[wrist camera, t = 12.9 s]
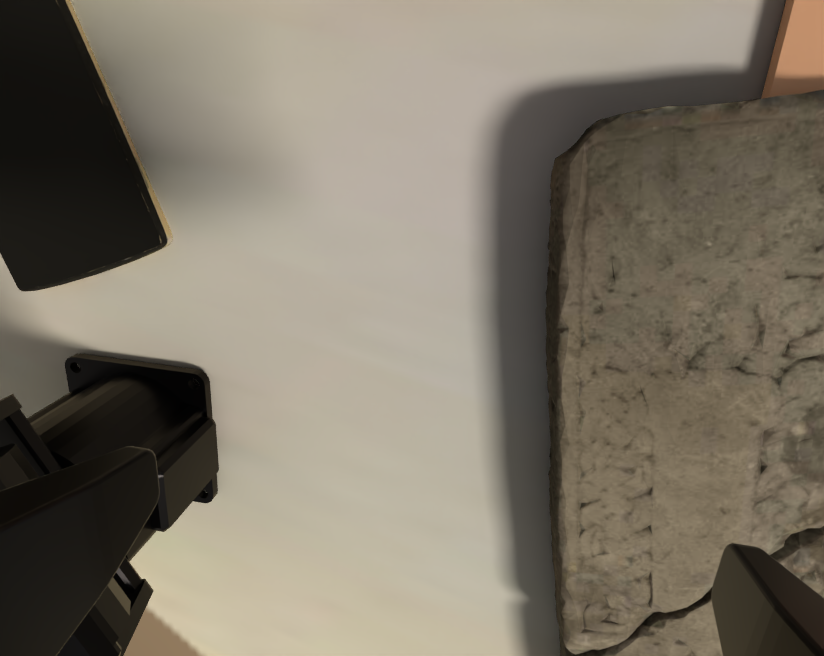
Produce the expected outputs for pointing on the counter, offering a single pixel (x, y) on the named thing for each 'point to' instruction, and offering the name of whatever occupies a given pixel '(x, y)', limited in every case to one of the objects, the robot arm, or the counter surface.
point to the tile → (798, 50)
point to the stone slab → (684, 365)
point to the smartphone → (65, 156)
